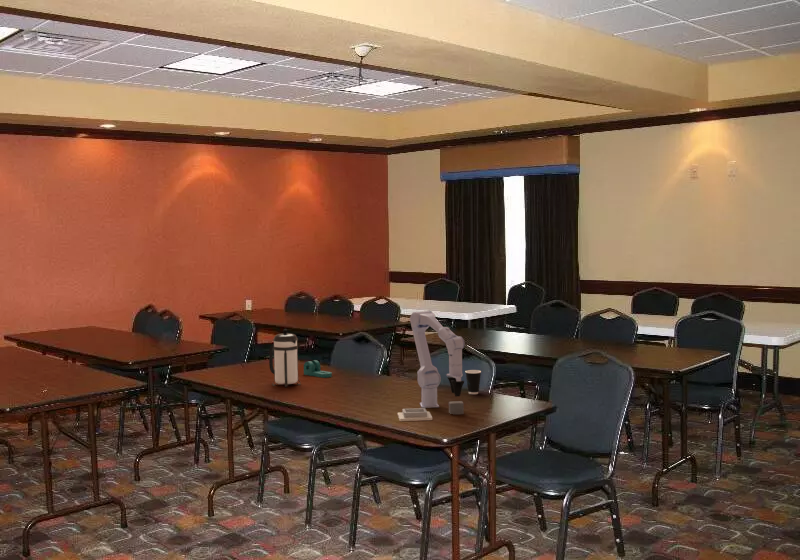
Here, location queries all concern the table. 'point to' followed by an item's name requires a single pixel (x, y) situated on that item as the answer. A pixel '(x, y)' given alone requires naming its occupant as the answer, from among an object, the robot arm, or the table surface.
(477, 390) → the dixie cup
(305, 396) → the table surface
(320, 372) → the bracket
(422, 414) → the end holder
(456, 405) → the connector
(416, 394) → the table surface
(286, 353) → the coffee press
